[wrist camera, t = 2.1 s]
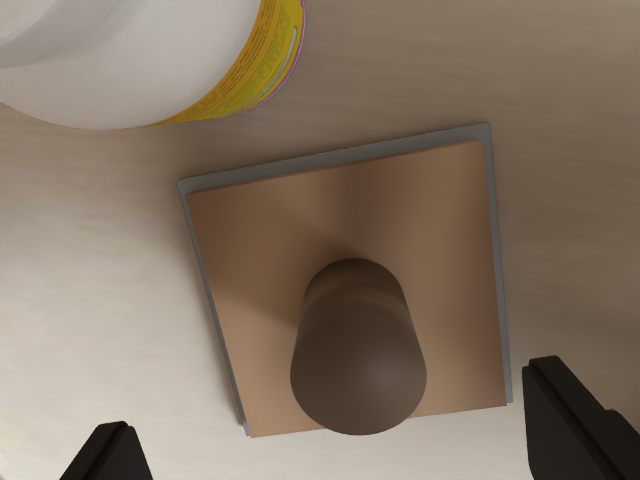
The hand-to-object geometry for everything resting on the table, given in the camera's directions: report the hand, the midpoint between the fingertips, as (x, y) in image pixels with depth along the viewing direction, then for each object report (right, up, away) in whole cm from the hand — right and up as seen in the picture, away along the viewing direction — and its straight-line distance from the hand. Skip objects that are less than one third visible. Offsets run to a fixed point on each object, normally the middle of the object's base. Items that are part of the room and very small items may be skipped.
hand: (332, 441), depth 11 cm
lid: (+1, +2, +8) cm, 9 cm away
